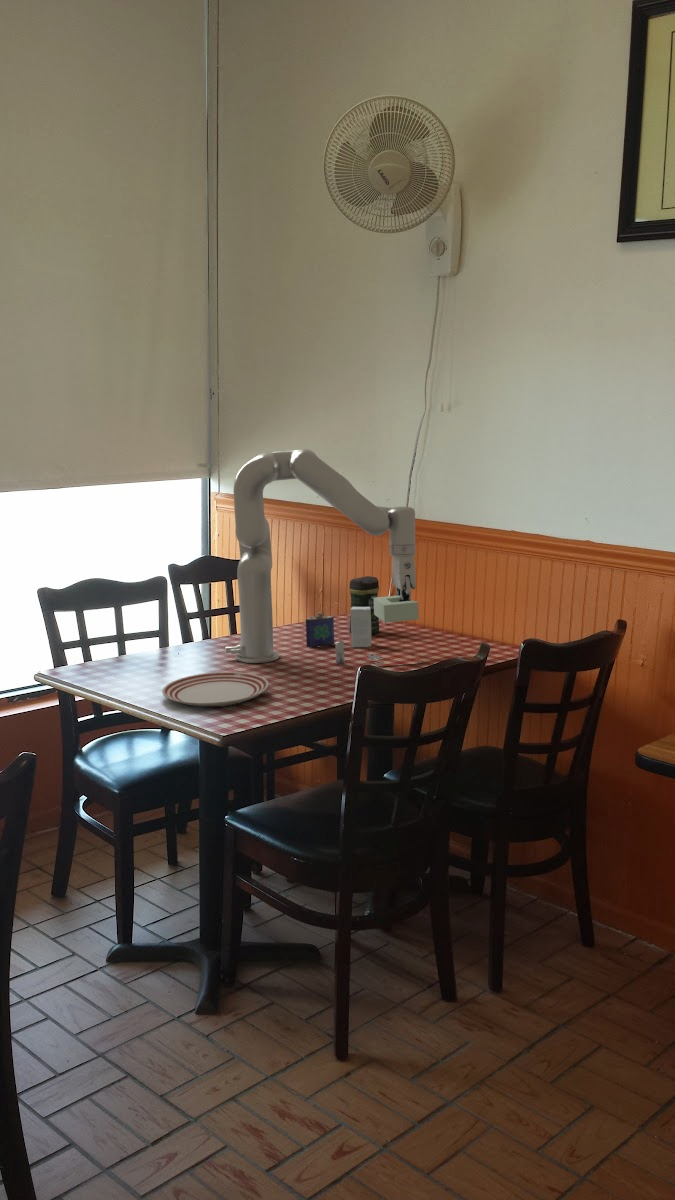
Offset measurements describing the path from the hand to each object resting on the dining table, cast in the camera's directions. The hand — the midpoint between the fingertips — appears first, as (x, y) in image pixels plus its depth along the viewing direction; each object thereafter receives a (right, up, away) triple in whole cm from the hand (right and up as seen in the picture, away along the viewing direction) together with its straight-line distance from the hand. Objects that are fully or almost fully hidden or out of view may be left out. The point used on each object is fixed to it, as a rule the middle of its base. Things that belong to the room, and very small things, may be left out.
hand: (403, 611), depth 314 cm
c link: (-3, -2, -5) cm, 6 cm away
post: (-19, -15, -6) cm, 25 cm away
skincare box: (-12, -11, +15) cm, 22 cm away
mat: (-3, -14, -3) cm, 15 cm away
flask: (-24, -11, +17) cm, 32 cm away
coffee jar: (-10, -8, +32) cm, 34 cm away
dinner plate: (-51, -22, -36) cm, 66 cm away
